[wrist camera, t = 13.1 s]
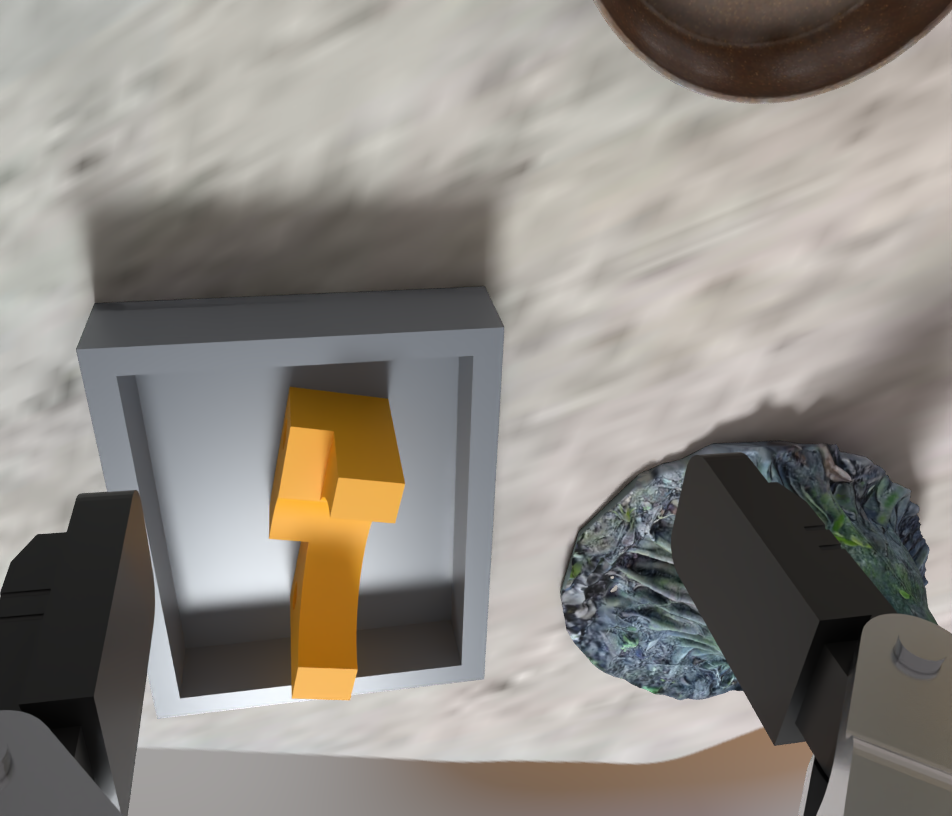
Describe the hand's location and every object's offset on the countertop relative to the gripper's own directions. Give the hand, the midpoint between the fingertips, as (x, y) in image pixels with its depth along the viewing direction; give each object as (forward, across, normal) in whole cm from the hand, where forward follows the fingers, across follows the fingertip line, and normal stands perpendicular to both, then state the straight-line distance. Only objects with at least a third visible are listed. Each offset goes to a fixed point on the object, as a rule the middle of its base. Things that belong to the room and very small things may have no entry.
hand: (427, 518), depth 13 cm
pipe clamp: (+24, +1, +18) cm, 30 cm away
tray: (+25, +1, +18) cm, 31 cm away
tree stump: (+25, -22, +25) cm, 42 cm away
